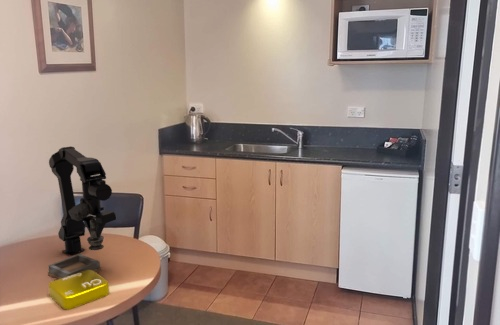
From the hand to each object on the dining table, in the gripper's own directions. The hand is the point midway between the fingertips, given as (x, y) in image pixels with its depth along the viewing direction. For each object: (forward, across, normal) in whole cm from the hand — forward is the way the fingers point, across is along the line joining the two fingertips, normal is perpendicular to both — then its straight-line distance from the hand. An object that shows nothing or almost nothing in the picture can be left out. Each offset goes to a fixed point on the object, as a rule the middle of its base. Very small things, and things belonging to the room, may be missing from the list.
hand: (95, 235), depth 161 cm
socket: (+13, -4, -7) cm, 15 cm away
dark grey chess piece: (+5, 0, 0) cm, 5 cm away
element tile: (+13, +11, -15) cm, 23 cm away
